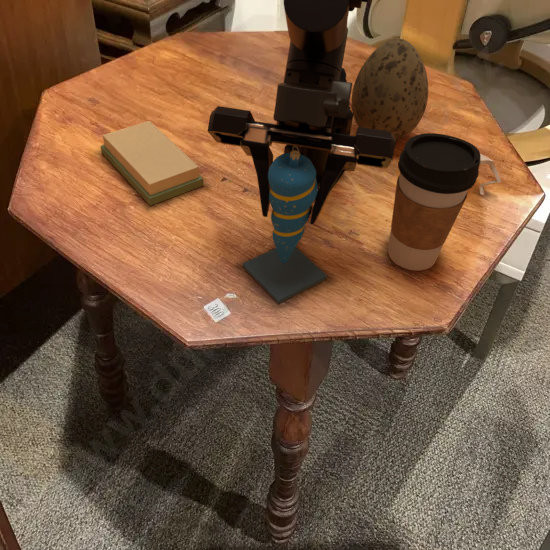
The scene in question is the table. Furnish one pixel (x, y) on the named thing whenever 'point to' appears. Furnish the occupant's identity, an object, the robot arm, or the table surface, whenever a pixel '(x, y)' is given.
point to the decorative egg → (391, 89)
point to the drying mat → (284, 274)
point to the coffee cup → (429, 196)
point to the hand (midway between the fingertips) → (288, 220)
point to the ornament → (291, 199)
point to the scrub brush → (151, 162)
